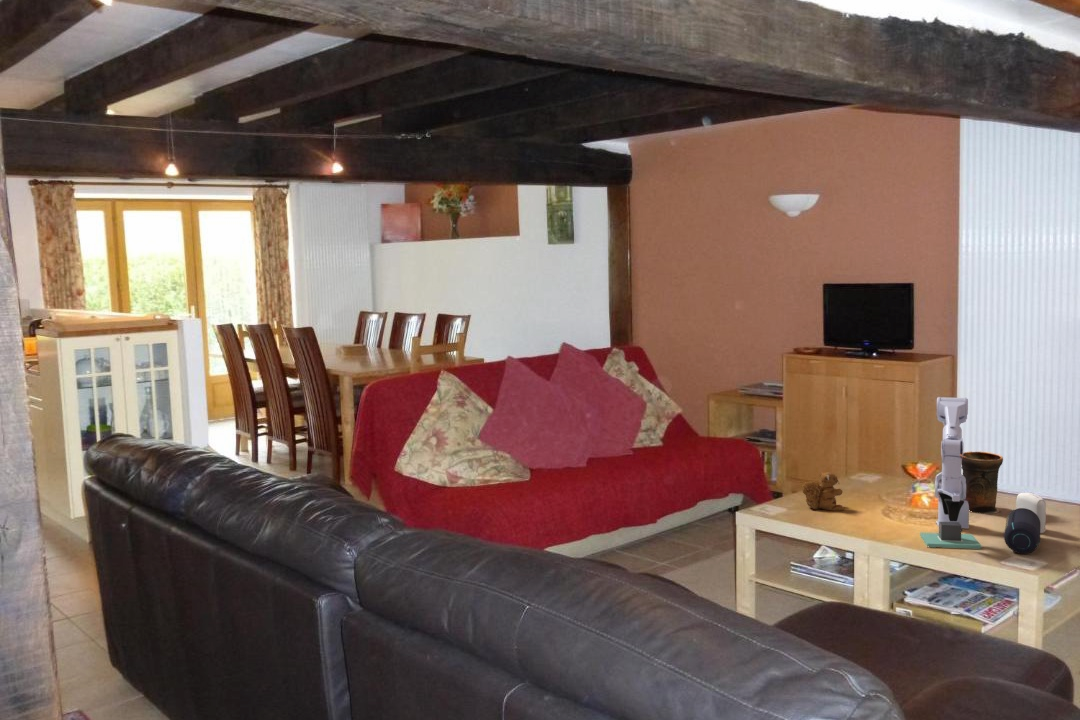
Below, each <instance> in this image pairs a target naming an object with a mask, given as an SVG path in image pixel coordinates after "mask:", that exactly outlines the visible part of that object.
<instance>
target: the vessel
mask: <svg viewBox="0 0 1080 720" xmlns="http://www.w3.org/2000/svg"><path fill="white" fill-rule="evenodd" d="M960 457H961V458H962V466H961V470H962V475H963V476H964V477H965V479H966V499H964V500H966V501H968V504H969V510H970V511H972V512H971V513H973V514H978V515H979V514H982V515H985V514H987V515H988V514H989V515H993V514H996V513H999V512H1001V511H1002V510H1001V509H1000V508H996V506H997V505H996V504H997V497H998V496H997V495H998V481H999V480H998V478H999V471H1000V468H1001V466H1002V465H1003V462H1004V457H1003V456H1001V455H1000V454H997V453H992V452H988V451H966V452H965V451H963V457H962V455H961V454H960ZM970 511H969V512H970Z"/></svg>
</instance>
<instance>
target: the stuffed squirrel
mask: <svg viewBox="0 0 1080 720" xmlns="http://www.w3.org/2000/svg"><path fill="white" fill-rule="evenodd" d="M819 475H820V480H821V484H819V482H817V481H814V480H813V481H806V482H804V484H802V485H801V487H802V489H801V491H802V493H803V495H804V496H805V498H806V499H805V502H806V504H807V505H808V507H810V508H811V509H813V510H818V509H822V510H825V511H832V512H833V511H834V512H835V511H837V512H838V511H841V512H842V511H843V510H844V509H845V508H844V506H843V505H841V504H837V498H836V497H837V496H841V495H842V494H843V493H844V492H843V489H841V488H835V487H834V486H835V485H840V482H839V479H838V476H837V475H836V474H835V473H833V472H829V471H828V472H827V471H826V472H820V474H819Z"/></svg>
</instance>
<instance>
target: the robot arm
mask: <svg viewBox="0 0 1080 720" xmlns="http://www.w3.org/2000/svg"><path fill="white" fill-rule="evenodd" d="M968 414H969V399H968V398H967V397H947V396H946V397H945V396H944V397H943V396H942V397H941V396H937V398H936V418H937V421H938V422H939V423H942V425H943V427H942V441H940V443H941V444H940V455H941V472H939V473H937V474H936V475H935V479H934V480H935V481H934V497H935V499H937V501H938V504H937V505H938V506H937V507H938V512H937V513H938V514H937V515H938V516H937V520H938V521H936V522H935V524H936V523H937V524H936V525H937V526H938V527H939V522H959V523H960V524H961V526H962V527H961V529H966V530H967V529H970V527H969V526H970V524H969V523H970V522H969V521H970V511H969V504H968V501H966V500H964V499H966V479H965V477H964V476H963V473H962V468H961V467H962V458H961V457H960V454H961V455H962V457H963V453H964V448H965V447H964V441H963V432H962V431H963V430H962V427H961V424H963V423H966V421H967V419H968Z"/></svg>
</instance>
